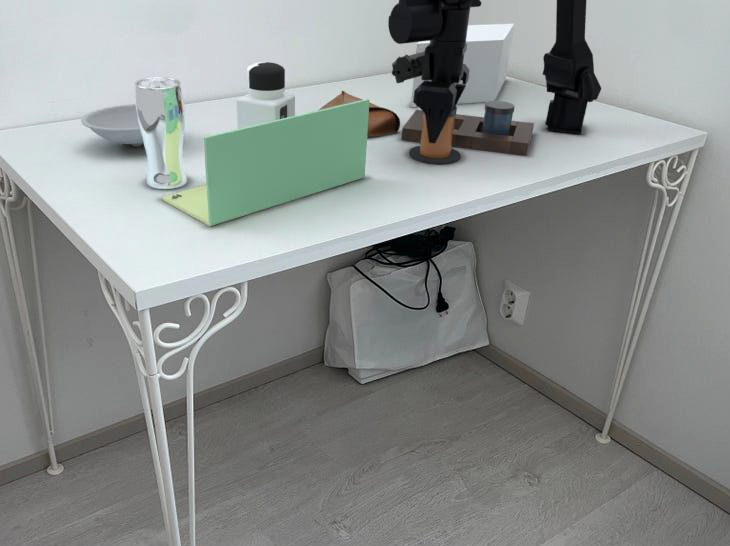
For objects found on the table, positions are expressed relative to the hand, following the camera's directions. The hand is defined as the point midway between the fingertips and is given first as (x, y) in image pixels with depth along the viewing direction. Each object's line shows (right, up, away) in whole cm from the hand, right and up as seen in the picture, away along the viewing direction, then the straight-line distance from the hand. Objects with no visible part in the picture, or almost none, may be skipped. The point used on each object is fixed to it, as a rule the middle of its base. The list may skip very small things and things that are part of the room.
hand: (436, 135), depth 128 cm
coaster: (0, -3, +2) cm, 4 cm away
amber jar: (0, -3, +2) cm, 3 cm away
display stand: (-28, -12, -13) cm, 33 cm away
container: (-30, +1, +6) cm, 30 cm away
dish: (-52, -1, +2) cm, 52 cm away
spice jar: (+12, +2, +10) cm, 16 cm away
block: (+11, +20, +37) cm, 44 cm away
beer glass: (-44, -11, -12) cm, 47 cm away
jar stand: (+8, +3, +11) cm, 14 cm away
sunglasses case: (-13, +7, +16) cm, 22 cm away
